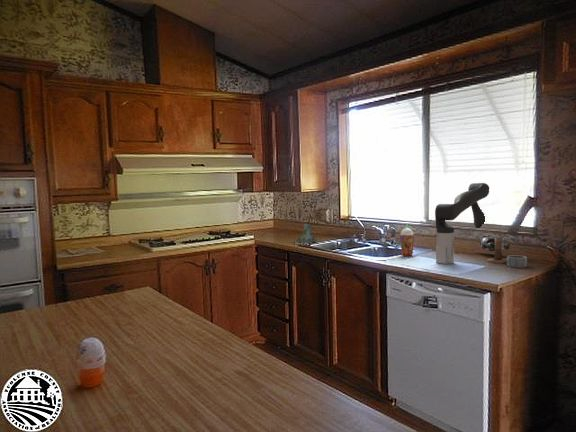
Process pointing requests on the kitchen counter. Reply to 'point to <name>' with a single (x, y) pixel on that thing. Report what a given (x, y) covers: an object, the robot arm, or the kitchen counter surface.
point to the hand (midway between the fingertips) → (499, 247)
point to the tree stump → (306, 235)
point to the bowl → (516, 261)
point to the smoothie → (407, 241)
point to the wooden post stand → (498, 252)
